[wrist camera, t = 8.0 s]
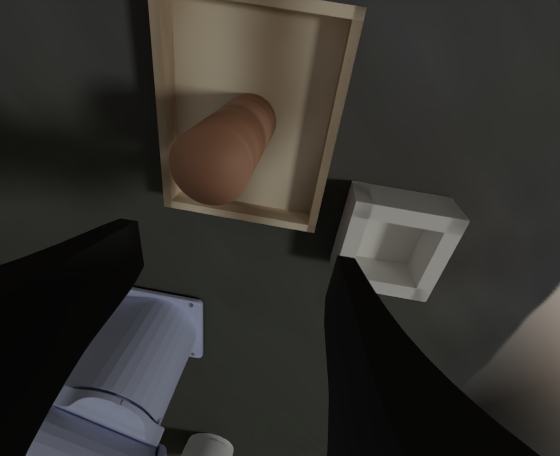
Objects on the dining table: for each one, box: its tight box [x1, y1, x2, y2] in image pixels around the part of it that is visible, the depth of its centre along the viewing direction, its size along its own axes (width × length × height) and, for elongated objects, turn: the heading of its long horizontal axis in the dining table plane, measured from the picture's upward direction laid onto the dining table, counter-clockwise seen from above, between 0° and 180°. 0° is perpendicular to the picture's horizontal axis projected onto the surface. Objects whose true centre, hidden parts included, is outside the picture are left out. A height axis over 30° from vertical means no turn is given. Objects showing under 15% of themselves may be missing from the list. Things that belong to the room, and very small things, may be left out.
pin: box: [169, 93, 276, 206], centre depth 15 cm, size 3×3×8 cm
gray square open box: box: [330, 181, 470, 302], centre depth 20 cm, size 6×6×3 cm
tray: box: [148, 0, 367, 233], centre depth 18 cm, size 10×12×2 cm
